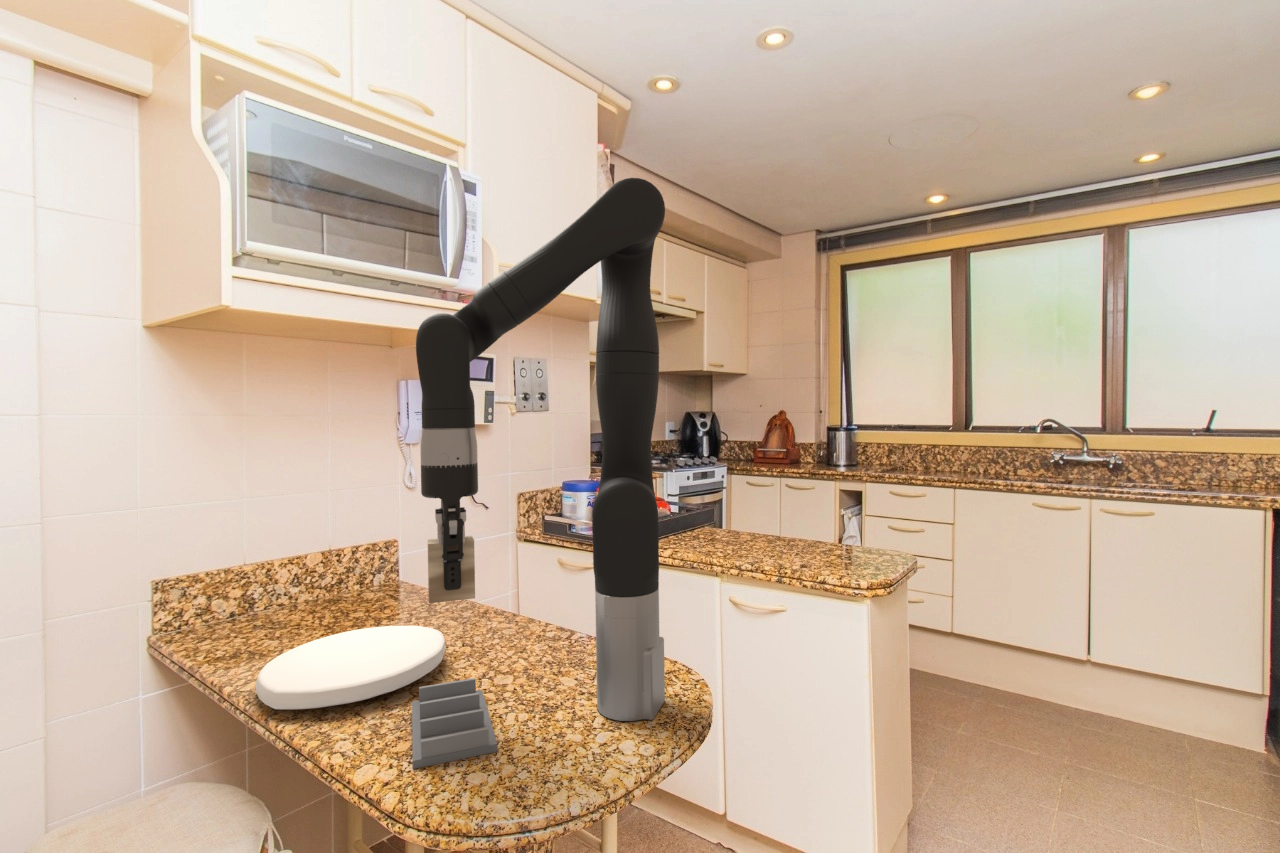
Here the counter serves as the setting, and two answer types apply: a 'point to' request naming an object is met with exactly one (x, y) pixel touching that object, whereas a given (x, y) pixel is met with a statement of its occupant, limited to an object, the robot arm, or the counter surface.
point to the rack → (450, 723)
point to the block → (437, 572)
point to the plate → (349, 666)
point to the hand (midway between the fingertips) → (451, 584)
